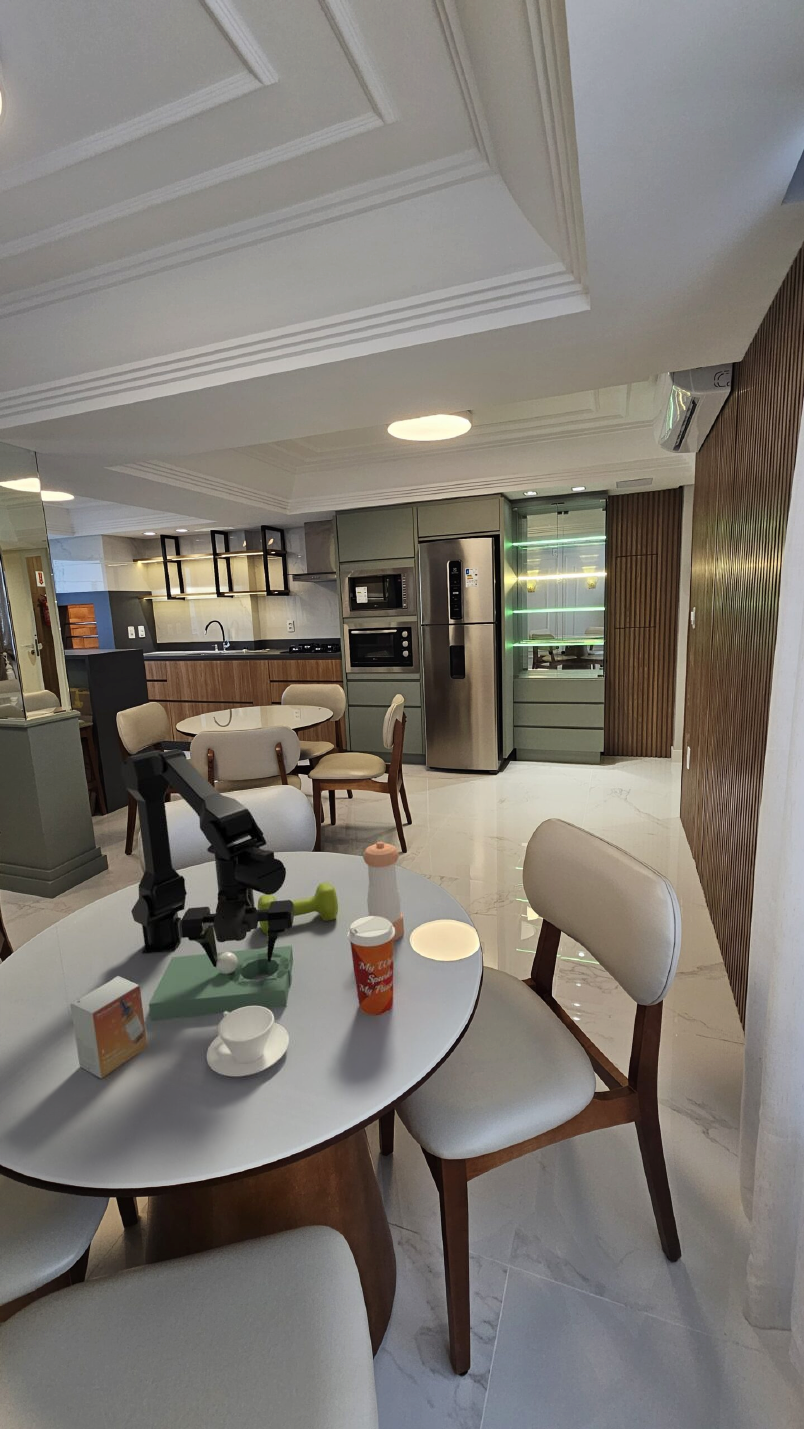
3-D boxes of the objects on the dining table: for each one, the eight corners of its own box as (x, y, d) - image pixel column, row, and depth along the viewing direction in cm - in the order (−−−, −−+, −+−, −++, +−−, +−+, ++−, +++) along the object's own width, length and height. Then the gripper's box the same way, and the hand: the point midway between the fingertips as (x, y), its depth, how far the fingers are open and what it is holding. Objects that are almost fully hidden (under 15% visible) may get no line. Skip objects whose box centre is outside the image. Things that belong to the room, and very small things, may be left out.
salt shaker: (395, 944, 122) (389, 851, 119) (361, 939, 125) (355, 847, 122) (409, 926, 129) (404, 837, 126) (376, 921, 132) (371, 834, 128)
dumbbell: (262, 941, 127) (259, 907, 126) (257, 923, 134) (254, 891, 133) (341, 923, 132) (339, 891, 131) (333, 907, 139) (330, 876, 138)
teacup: (248, 1019, 102) (245, 990, 101) (306, 1042, 96) (303, 1010, 95) (189, 1067, 92) (185, 1035, 91) (250, 1096, 86) (246, 1061, 85)
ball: (213, 960, 108) (235, 958, 108) (218, 948, 112) (238, 947, 112) (215, 979, 109) (236, 977, 109) (219, 967, 112) (239, 966, 112)
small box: (101, 1080, 90) (90, 1014, 89) (78, 1067, 93) (68, 1003, 92) (149, 1046, 97) (140, 984, 95) (126, 1035, 100) (118, 974, 98)
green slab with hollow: (151, 1020, 103) (148, 1003, 103) (173, 972, 117) (172, 957, 117) (287, 1006, 105) (286, 989, 105) (294, 960, 119) (293, 945, 118)
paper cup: (364, 1025, 99) (358, 943, 97) (345, 1000, 106) (339, 922, 103) (408, 1008, 103) (403, 929, 100) (387, 985, 109) (382, 910, 107)
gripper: (165, 905, 99) (176, 996, 102) (284, 896, 101) (292, 985, 103) (183, 876, 110) (192, 958, 113) (291, 868, 112) (297, 949, 114)
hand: (242, 963), depth 110 cm, fingers open, 9 cm apart
